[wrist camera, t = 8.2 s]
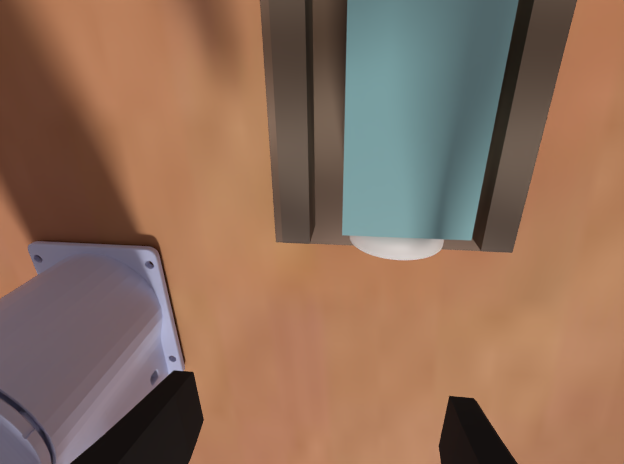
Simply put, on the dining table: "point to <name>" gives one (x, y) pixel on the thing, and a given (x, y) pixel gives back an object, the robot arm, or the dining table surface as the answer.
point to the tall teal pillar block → (419, 119)
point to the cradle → (331, 118)
